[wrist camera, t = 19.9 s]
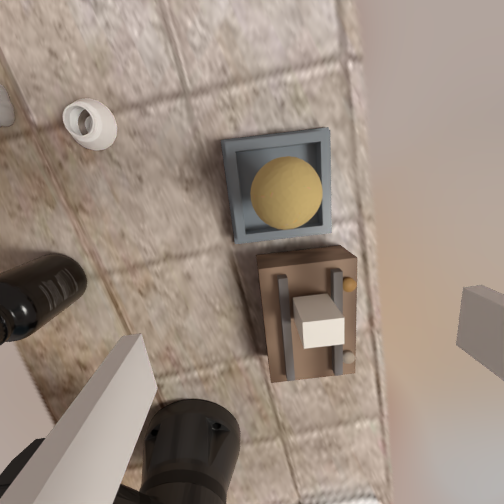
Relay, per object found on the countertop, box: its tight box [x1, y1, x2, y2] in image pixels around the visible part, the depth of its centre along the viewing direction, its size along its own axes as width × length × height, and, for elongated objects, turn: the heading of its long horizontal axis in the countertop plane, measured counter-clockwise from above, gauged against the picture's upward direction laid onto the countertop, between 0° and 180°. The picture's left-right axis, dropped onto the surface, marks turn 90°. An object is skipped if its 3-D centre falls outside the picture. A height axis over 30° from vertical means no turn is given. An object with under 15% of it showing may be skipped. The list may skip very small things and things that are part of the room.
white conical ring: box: [63, 98, 117, 151], centre depth 26 cm, size 5×3×5 cm
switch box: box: [256, 245, 357, 383], centre depth 32 cm, size 11×16×6 cm
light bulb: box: [250, 156, 323, 230], centre depth 24 cm, size 6×6×10 cm
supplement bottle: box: [0, 254, 87, 345], centre depth 26 cm, size 7×7×12 cm
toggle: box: [293, 294, 344, 349], centre depth 26 cm, size 4×3×5 cm
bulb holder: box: [221, 127, 332, 244], centre depth 28 cm, size 12×12×3 cm
